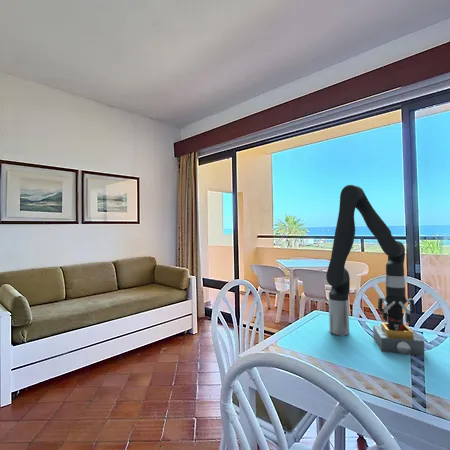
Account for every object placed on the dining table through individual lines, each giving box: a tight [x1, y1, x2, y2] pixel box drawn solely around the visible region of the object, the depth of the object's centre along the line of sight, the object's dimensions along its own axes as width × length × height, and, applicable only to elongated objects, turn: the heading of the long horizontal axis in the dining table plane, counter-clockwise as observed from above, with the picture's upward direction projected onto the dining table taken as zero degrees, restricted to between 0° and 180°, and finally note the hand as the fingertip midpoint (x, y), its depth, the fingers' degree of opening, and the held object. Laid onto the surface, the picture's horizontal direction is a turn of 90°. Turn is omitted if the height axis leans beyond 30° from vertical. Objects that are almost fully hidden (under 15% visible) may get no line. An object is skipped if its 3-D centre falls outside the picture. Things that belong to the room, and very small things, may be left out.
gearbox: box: [372, 322, 425, 357], centre depth 128 cm, size 16×18×8 cm
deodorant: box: [386, 305, 404, 331], centre depth 129 cm, size 6×6×15 cm
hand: (396, 321), depth 129 cm, fingers open, 8 cm apart
